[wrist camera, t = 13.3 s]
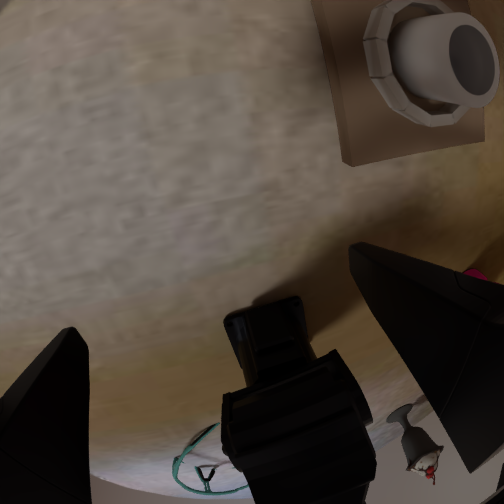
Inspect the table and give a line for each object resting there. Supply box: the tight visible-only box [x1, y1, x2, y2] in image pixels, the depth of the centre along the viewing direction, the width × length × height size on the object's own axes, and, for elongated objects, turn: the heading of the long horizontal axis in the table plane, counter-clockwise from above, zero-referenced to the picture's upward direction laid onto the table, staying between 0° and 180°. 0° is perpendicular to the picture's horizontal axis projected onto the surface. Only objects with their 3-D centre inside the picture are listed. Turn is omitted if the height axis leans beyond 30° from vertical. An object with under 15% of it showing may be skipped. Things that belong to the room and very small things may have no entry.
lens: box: [388, 12, 500, 108], centre depth 14 cm, size 6×6×5 cm
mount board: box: [311, 0, 485, 167], centre depth 16 cm, size 14×14×3 cm
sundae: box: [387, 404, 444, 485], centre depth 36 cm, size 7×7×15 cm
